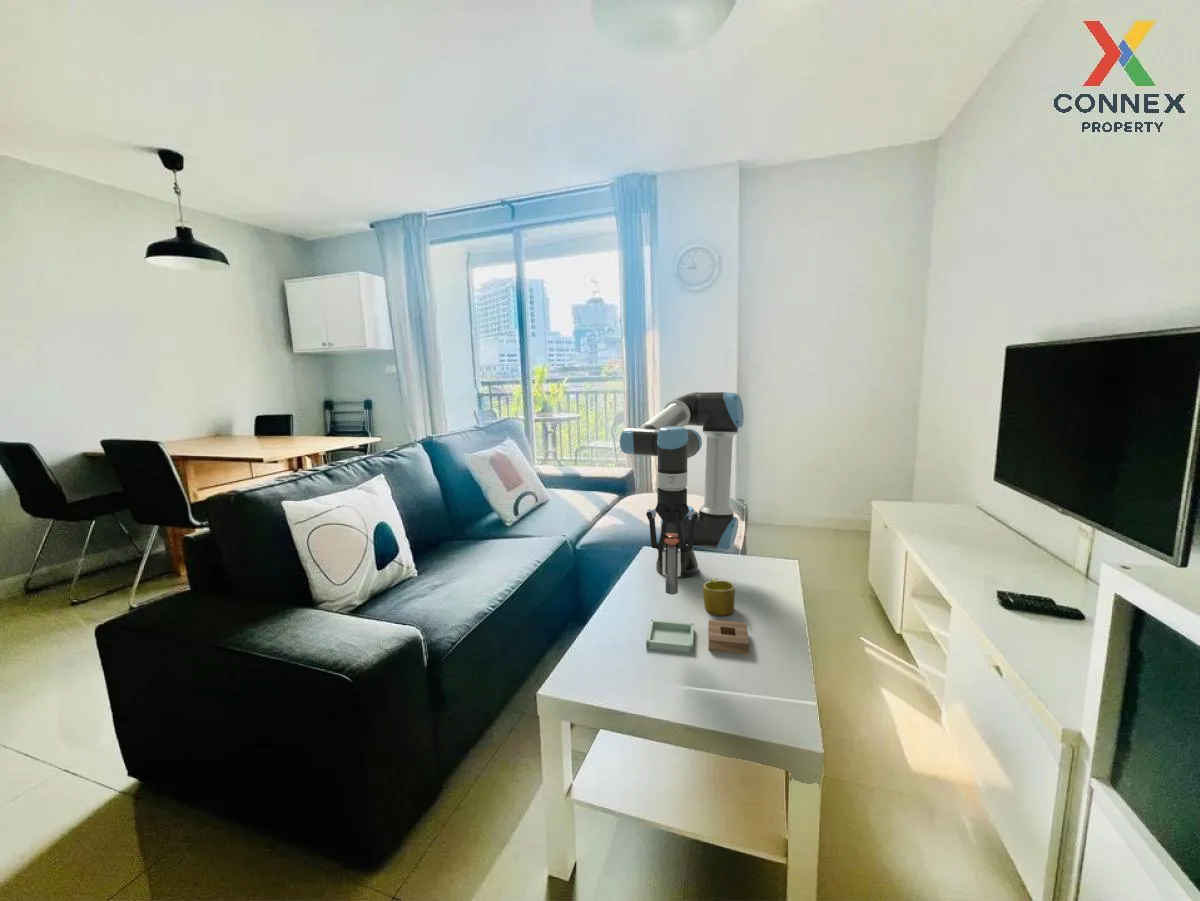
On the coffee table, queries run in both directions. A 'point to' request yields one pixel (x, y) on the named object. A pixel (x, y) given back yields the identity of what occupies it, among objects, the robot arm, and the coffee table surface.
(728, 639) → the socket block
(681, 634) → the tray
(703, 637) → the coffee table surface
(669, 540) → the pin
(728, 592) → the mug
